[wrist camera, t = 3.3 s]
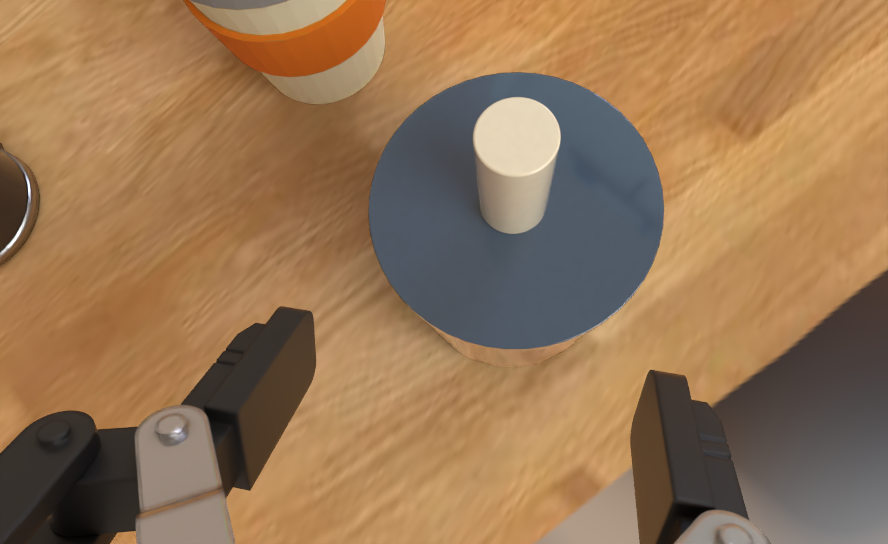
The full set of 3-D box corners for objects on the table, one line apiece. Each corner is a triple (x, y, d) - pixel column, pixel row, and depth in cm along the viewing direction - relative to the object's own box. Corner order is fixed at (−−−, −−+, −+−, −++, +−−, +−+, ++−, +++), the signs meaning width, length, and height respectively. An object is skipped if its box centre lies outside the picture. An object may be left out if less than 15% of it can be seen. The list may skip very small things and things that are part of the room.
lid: (331, 159, 27) (274, 69, 20) (568, 44, 28) (591, -83, 21) (447, 404, 24) (426, 396, 17) (713, 271, 25) (797, 211, 18)
